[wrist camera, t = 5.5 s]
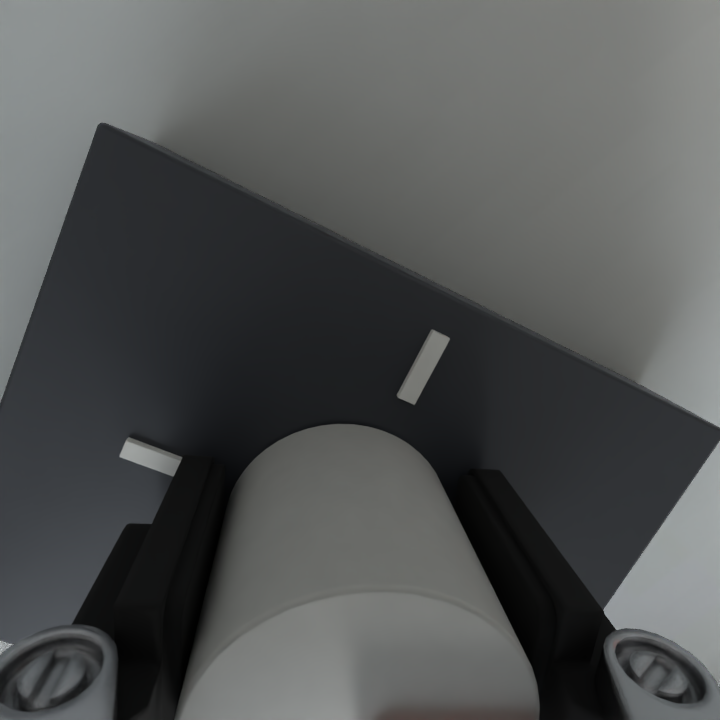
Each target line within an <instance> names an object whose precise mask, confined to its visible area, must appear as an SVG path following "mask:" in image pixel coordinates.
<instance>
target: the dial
mask: <svg viewBox="0 0 720 720" xmlns="http://www.w3.org/2000/svg"><path fill="white" fill-rule="evenodd" d="M539 711H540V703H539V694H538V685H537V682H536V679H535V675H534V672H533V668H532V666H531V664H530V662H529V660H528V658H527V656H526V654H525V652H524V650H523V648H522V646H521V644H520V642H519V640H518V638H517V636H516V634H515V632H514V630H513V628H512V626H511V624H510V622H509V620H508V618H507V616H506V614H505V612H504V610H503V608H502V606H501V603H500V601H499V599H498V597H497V595H496V593H495V591H494V589H493V587H492V585H491V583H490V581H489V579H488V577H487V575H486V573H485V571H484V569H483V567H482V565H481V563H480V561H479V559H478V557H477V555H476V553H475V551H474V549H473V547H472V545H471V543H470V541H469V539H468V537H467V535H466V533H465V531H464V529H463V527H462V525H461V523H460V520H459V518H458V516H457V514H456V512H455V510H454V508H453V506H452V504H451V502H450V500H449V498H448V496H447V494H446V492H445V490H444V488H443V486H442V484H441V482H440V480H439V478H438V476H437V474H436V472H435V471H434V469H433V468H432V467H431V465H430V464H429V462H428V461H427V460H426V459H425V458H424V457H423V456H422V455H421V454H420V453H419V452H418V451H417V450H416V449H414V448H413V447H412V446H411V445H409V444H408V443H406V442H405V441H403V440H401V439H400V438H398V437H396V436H394V435H392V434H389V433H387V432H385V431H382V430H379V429H375V428H372V427H368V426H361V425H355V424H331V425H322V426H317V427H312V428H308V429H305V430H302V431H299V432H296V433H293V434H291V435H289V436H287V437H285V438H283V439H281V440H279V441H277V442H276V443H274V444H273V445H271V446H270V447H268V448H267V449H265V450H264V451H263V452H262V453H261V454H259V455H258V456H257V457H256V458H255V459H254V460H253V461H252V462H251V463H250V464H249V465H248V467H247V468H246V469H245V470H244V471H243V473H242V474H241V476H240V477H239V479H238V480H237V482H236V484H235V486H234V488H233V490H232V492H231V494H230V498H229V501H228V504H227V507H226V511H225V515H224V519H223V523H222V527H221V531H220V535H219V539H218V543H217V547H216V552H215V556H214V560H213V564H212V568H211V572H210V576H209V580H208V584H207V588H206V592H205V596H204V600H203V604H202V608H201V612H200V616H199V620H198V624H197V628H196V633H195V637H194V641H193V645H192V649H191V653H190V657H189V661H188V665H187V669H186V673H185V677H184V681H183V685H182V689H181V693H180V697H179V701H178V705H177V710H176V714H175V718H174V720H539Z"/></svg>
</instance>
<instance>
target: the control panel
mask: <svg viewBox="0 0 720 720" xmlns="http://www.w3.org/2000/svg"><path fill="white" fill-rule="evenodd" d="M331 424H355V425H361V426H368V427H372V428H375V429H379V430H382V431H385V432H387V433H389V434H392V435H394V436H396V437H398V438H400V439H401V440H403V441H405V442H406V443H408V444H409V445H411V446H412V447H413V448H414V449H416V450H417V451H418V452H419V453H420V454H421V455H422V456H423V457H424V458H425V459H426V460H427V461H428V462H429V464H430V465H431V467H432V468H433V469H434V471H435V472H436V474H437V476H438V478H439V480H440V482H441V484H442V486H443V488H444V490H445V492H446V494H447V496H448V498H449V500H450V502H451V504H452V506H453V508H454V503H455V497H456V491H457V485H458V480H459V478H460V476H461V475H467V474H468V472H469V470H470V469H471V468H472V469H494V470H500V471H501V472H502V473H503V475H504V476H505V478H506V479H507V480H508V482H509V483H510V484H511V486H512V487H513V488H514V490H515V491H516V492H517V494H518V495H519V497H520V498H521V499H522V501H523V502H524V503H525V505H526V506H527V507H528V509H529V510H530V512H531V513H532V514H533V516H534V517H535V518H536V520H537V521H538V522H539V524H540V525H541V526H542V528H543V529H544V531H545V532H546V533H547V535H548V536H549V537H550V539H551V540H552V541H553V543H554V544H555V545H556V547H557V548H558V550H559V551H560V552H561V554H562V555H563V556H564V558H565V559H566V560H567V562H568V563H569V564H570V566H571V567H572V569H573V570H574V571H575V573H576V574H577V575H578V577H579V578H580V579H581V581H582V582H583V584H584V585H585V586H586V588H587V589H588V590H589V592H590V593H591V594H592V596H593V597H594V598H595V600H596V601H597V603H598V604H599V605H600V607H601V608H602V609H604V608H605V606H606V605H607V603H608V602H609V601H610V599H611V598H612V596H613V595H614V593H615V592H616V590H617V589H618V588H619V586H620V585H621V583H622V582H623V580H624V579H625V577H626V576H627V574H628V573H629V572H630V570H631V569H632V567H633V566H634V564H635V563H636V561H637V560H638V559H639V557H640V556H641V554H642V553H643V551H644V550H645V548H646V547H647V545H648V544H649V543H650V541H651V540H652V538H653V537H654V535H655V534H656V532H657V531H658V530H659V528H660V527H661V525H662V524H663V522H664V521H665V519H666V518H667V516H668V515H669V514H670V512H671V511H672V509H673V508H674V506H675V505H676V503H677V502H678V501H679V499H680V498H681V496H682V495H683V493H684V492H685V490H686V489H687V487H688V486H689V485H690V483H691V482H692V480H693V479H694V477H695V476H696V474H697V473H698V472H699V470H700V469H701V467H702V466H703V464H704V463H705V461H706V460H707V458H708V457H709V456H710V454H711V453H712V451H713V450H714V448H715V447H716V445H717V444H718V443H719V441H720V428H719V427H717V426H716V425H714V424H712V423H710V422H708V421H706V420H704V419H703V418H701V417H699V416H697V415H695V414H693V413H692V412H690V411H688V410H686V409H684V408H682V407H680V406H679V405H677V404H675V403H673V402H671V401H669V400H668V399H666V398H664V397H662V396H660V395H658V394H656V393H655V392H653V391H651V390H649V389H647V388H645V387H644V386H642V385H640V384H638V383H636V382H634V381H632V380H630V379H628V378H626V377H624V376H622V375H620V374H618V373H616V372H614V371H612V370H610V369H608V368H606V367H604V366H602V365H600V364H598V363H596V362H594V361H592V360H590V359H588V358H586V357H584V356H582V355H580V354H578V353H576V352H574V351H572V350H570V349H568V348H566V347H563V346H561V345H559V344H557V343H555V342H553V341H551V340H549V339H547V338H545V337H543V336H541V335H539V334H537V333H535V332H533V331H531V330H529V329H527V328H525V327H523V326H521V325H519V324H517V323H515V322H513V321H511V320H509V319H507V318H505V317H503V316H501V315H499V314H497V313H495V312H493V311H491V310H489V309H487V308H485V307H483V306H481V305H479V304H477V303H475V302H473V301H471V300H469V299H467V298H465V297H463V296H461V295H459V294H457V293H455V292H453V291H451V290H449V289H447V288H445V287H443V286H441V285H439V284H437V283H435V282H433V281H431V280H429V279H427V278H425V277H423V276H421V275H419V274H417V273H415V272H413V271H411V270H409V269H407V268H405V267H403V266H401V265H399V264H397V263H395V262H393V261H391V260H389V259H387V258H385V257H383V256H381V255H379V254H377V253H375V252H373V251H371V250H369V249H367V248H365V247H363V246H361V245H359V244H357V243H355V242H353V241H351V240H349V239H347V238H345V237H343V236H341V235H339V234H337V233H335V232H333V231H331V230H329V229H326V228H324V227H322V226H320V225H318V224H316V223H314V222H312V221H310V220H308V219H306V218H304V217H302V216H300V215H298V214H296V213H294V212H292V211H290V210H288V209H286V208H284V207H282V206H280V205H278V204H276V203H274V202H272V201H270V200H268V199H266V198H264V197H262V196H260V195H258V194H256V193H254V192H252V191H250V190H248V189H246V188H244V187H242V186H240V185H238V184H236V183H234V182H232V181H230V180H228V179H226V178H224V177H222V176H220V175H218V174H216V173H214V172H212V171H210V170H208V169H206V168H204V167H202V166H200V165H198V164H196V163H194V162H192V161H190V160H188V159H186V158H184V157H182V156H180V155H178V154H176V153H174V152H172V151H170V150H168V149H166V148H164V147H162V146H160V145H158V144H156V143H154V142H151V141H149V140H146V139H144V138H141V137H139V136H136V135H134V134H131V133H129V132H126V131H124V130H121V129H119V128H116V127H114V126H111V125H109V124H106V123H100V124H99V125H98V126H97V129H96V132H95V135H94V138H93V140H92V143H91V146H90V149H89V152H88V155H87V158H86V160H85V163H84V166H83V169H82V172H81V175H80V178H79V180H78V183H77V186H76V189H75V192H74V195H73V198H72V200H71V203H70V206H69V209H68V212H67V215H66V217H65V220H64V223H63V226H62V229H61V232H60V235H59V237H58V240H57V243H56V246H55V249H54V252H53V255H52V257H51V260H50V263H49V266H48V269H47V272H46V275H45V277H44V280H43V283H42V286H41V289H40V292H39V295H38V297H37V300H36V303H35V306H34V309H33V312H32V314H31V317H30V320H29V323H28V326H27V329H26V332H25V334H24V337H23V340H22V343H21V346H20V349H19V352H18V354H17V357H16V360H15V363H14V366H13V369H12V372H11V374H10V377H9V380H8V383H7V386H6V389H5V392H4V394H3V397H2V400H1V403H0V641H4V642H7V643H11V644H15V643H17V642H18V641H20V640H21V639H23V638H25V637H28V636H30V635H32V634H34V633H37V632H39V631H41V630H45V629H49V628H53V627H57V626H61V625H71V624H72V623H73V621H74V619H75V617H76V615H77V613H78V612H79V610H80V608H81V606H82V604H83V602H84V601H85V599H86V597H87V595H88V593H89V591H90V590H91V588H92V586H93V584H94V582H95V580H96V579H97V577H98V575H99V573H100V571H101V569H102V567H103V566H104V564H105V562H106V560H107V558H108V556H109V555H110V553H111V551H112V549H113V547H114V545H115V544H116V542H117V540H118V538H119V536H120V534H121V533H122V531H123V529H124V528H125V526H126V525H127V524H129V523H139V524H152V522H153V520H154V518H155V516H156V514H157V511H158V509H159V507H160V505H161V503H162V501H163V498H164V496H165V494H166V492H167V490H168V488H169V486H170V483H171V481H172V479H173V477H174V475H175V473H176V471H177V468H178V466H179V464H180V462H181V460H182V458H183V456H184V455H194V456H214V458H215V464H225V488H224V514H223V519H224V515H225V511H226V507H227V504H228V501H229V498H230V494H231V492H232V490H233V488H234V486H235V484H236V482H237V480H238V479H239V477H240V476H241V474H242V473H243V471H244V470H245V469H246V468H247V467H248V465H249V464H250V463H251V462H252V461H253V460H254V459H255V458H256V457H257V456H258V455H259V454H261V453H262V452H263V451H264V450H265V449H267V448H268V447H270V446H271V445H273V444H274V443H276V442H277V441H279V440H281V439H283V438H285V437H287V436H289V435H291V434H293V433H296V432H299V431H302V430H305V429H308V428H312V427H317V426H322V425H331Z"/></svg>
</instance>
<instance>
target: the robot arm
mask: <svg viewBox="0 0 720 720" xmlns="http://www.w3.org/2000/svg"><path fill="white" fill-rule="evenodd" d="M224 488H225V464H215V458H214V456H194V455H184V456H183V458H182V460H181V462H180V464H179V466H178V468H177V471H176V473H175V475H174V477H173V479H172V481H171V483H170V486H169V488H168V490H167V492H166V494H165V496H164V498H163V501H162V503H161V505H160V507H159V509H158V511H157V514H156V516H155V518H154V520H153V522H152V524H139V523H129V524H127V525H126V526H125V528H124V529H123V531H122V533H121V534H120V536H119V538H118V540H117V542H116V544H115V545H114V547H113V549H112V551H111V553H110V555H109V556H108V558H107V560H106V562H105V564H104V566H103V567H102V569H101V571H100V573H99V575H98V577H97V579H96V580H95V582H94V584H93V586H92V588H91V590H90V591H89V593H88V595H87V597H86V599H85V601H84V602H83V604H82V606H81V608H80V610H79V612H78V613H77V615H76V617H75V619H74V621H73V623H72V624H71V625H61V626H57V627H53V628H49V629H45V630H41V631H39V632H37V633H34V634H32V635H30V636H28V637H25V638H23V639H21V640H20V641H18V642H17V643H15V644H14V645H12V646H11V647H10V648H8V649H7V650H5V651H4V652H3V653H2V654H1V655H0V720H174V718H175V714H176V710H177V705H178V701H179V697H180V693H181V689H182V685H183V681H184V677H185V673H186V669H187V665H188V661H189V657H190V653H191V649H192V645H193V641H194V637H195V633H196V628H197V624H198V620H199V616H200V612H201V608H202V604H203V600H204V596H205V592H206V588H207V584H208V580H209V576H210V572H211V568H212V564H213V560H214V556H215V552H216V547H217V543H218V539H219V535H220V531H221V527H222V523H223V514H224ZM454 510H455V512H456V514H457V516H458V518H459V520H460V523H461V525H462V527H463V529H464V531H465V533H466V535H467V537H468V539H469V541H470V543H471V545H472V547H473V549H474V551H475V553H476V555H477V557H478V559H479V561H480V563H481V565H482V567H483V569H484V571H485V573H486V575H487V577H488V579H489V581H490V583H491V585H492V587H493V589H494V591H495V593H496V595H497V597H498V599H499V601H500V603H501V606H502V608H503V610H504V612H505V614H506V616H507V618H508V620H509V622H510V624H511V626H512V628H513V630H514V632H515V634H516V636H517V638H518V640H519V642H520V644H521V646H522V648H523V650H524V652H525V654H526V656H527V658H528V660H529V662H530V664H531V666H532V668H533V672H534V675H535V679H536V682H537V685H538V694H539V703H540V711H539V720H720V687H719V686H718V684H717V682H716V681H715V679H714V677H713V676H712V675H711V674H710V672H709V671H708V670H707V668H706V667H705V666H704V665H703V664H702V663H701V662H700V661H699V660H698V659H697V658H696V657H694V656H693V655H692V654H691V653H690V652H689V651H687V650H685V649H684V648H682V647H681V646H679V645H678V644H676V643H675V642H673V641H671V640H669V639H666V638H664V637H662V636H660V635H658V634H655V633H651V632H648V631H644V630H640V629H627V628H625V629H621V630H616V629H615V628H614V627H613V625H612V624H611V622H610V621H609V620H608V618H607V617H606V616H605V614H604V611H603V609H602V608H601V607H600V605H599V604H598V603H597V601H596V600H595V598H594V597H593V596H592V594H591V593H590V592H589V590H588V589H587V588H586V586H585V585H584V584H583V582H582V581H581V579H580V578H579V577H578V575H577V574H576V573H575V571H574V570H573V569H572V567H571V566H570V564H569V563H568V562H567V560H566V559H565V558H564V556H563V555H562V554H561V552H560V551H559V550H558V548H557V547H556V545H555V544H554V543H553V541H552V540H551V539H550V537H549V536H548V535H547V533H546V532H545V531H544V529H543V528H542V526H541V525H540V524H539V522H538V521H537V520H536V518H535V517H534V516H533V514H532V513H531V512H530V510H529V509H528V507H527V506H526V505H525V503H524V502H523V501H522V499H521V498H520V497H519V495H518V494H517V492H516V491H515V490H514V488H513V487H512V486H511V484H510V483H509V482H508V480H507V479H506V478H505V476H504V475H503V473H502V472H501V471H500V470H494V469H472V468H471V469H470V470H469V472H468V474H467V475H461V476H460V478H459V480H458V485H457V491H456V497H455V503H454Z"/></svg>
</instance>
